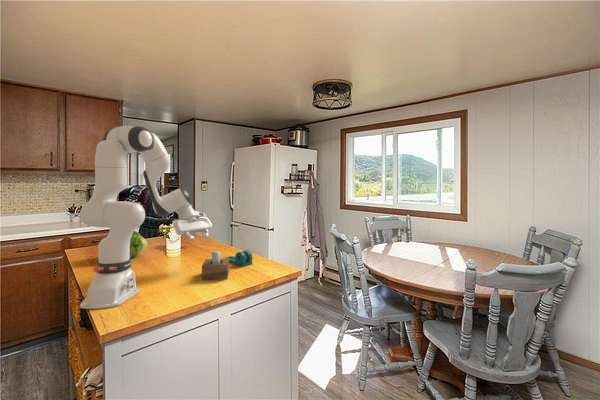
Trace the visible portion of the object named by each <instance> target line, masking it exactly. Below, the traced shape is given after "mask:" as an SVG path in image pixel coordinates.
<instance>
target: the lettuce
mask: <svg viewBox="0 0 600 400" xmlns="http://www.w3.org/2000/svg"><path fill="white" fill-rule="evenodd" d="M147 247H148V241H147V240H146V239H145V238H144V237H143V236H142V235H141V234H140V233H139V232H137V231H136V230H135V231H134V232H133V234H132V236H131V240H130V259H131V258H133V257H134V258H135V257H136V256H138V255H139V254H140V253H141V252H143V251H144V250H145V249H146V248H147Z"/></svg>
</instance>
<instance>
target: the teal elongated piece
mask: <svg viewBox="0 0 600 400" xmlns="http://www.w3.org/2000/svg"><path fill="white" fill-rule="evenodd" d="M224 259H229V264H232V265H233V266H234V265H235V266H238V267H242V268H244V267H247V266H251V265H253V254H252V252H251V250H248V249H247V250H243V251H239V252H236V253H235V255H229V256H225V258H224Z"/></svg>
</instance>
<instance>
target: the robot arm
mask: <svg viewBox="0 0 600 400" xmlns="http://www.w3.org/2000/svg"><path fill="white" fill-rule="evenodd" d="M128 153H139V154H140V156H141V158H142V160H143V161H144V164H145V169H144V170H143V172H142V174H143V179H144V181H145V185H146V189H147V191H148V194H149V197H150V199H151V202H152V208H153V211H154V213H155V214H156V215H157V216H159V217H167V216H169V215H172V213H176V214H177V215H178V218H175V219H173V220H172V225H173V228H174V231H175V233H176V234H177V235H178V236H185V237H186V238H188V240H189V241H193V240H194V239H195V238H194V236H193V235H191V234H199V233H204V237H205V239H207V238H209V237H210V235H209V232H210V231H211V230H212V228H213V224H212V222H211V221H210V219H209V218H208V217H207V215H206V213H204V212H202V211H201V212H200V211H197V210H195V209H194V208H193V205H192V203H193V199H192V197H191V196H190V194H189V192H188V190H187V189H185V188H181V187H180V188H177V189H175V190H172V191H171V192H169V193H167V194H164V195H162V196H160V194H159V192H158V188H157V186H156V185H157V184H156V183H157V181H158V180H159V179H160V178H161V177H162V176H163V175H164V174H165V173H166V172H168V170H169V168H170V166H171V157H170V156H169V154H168V151H167V150H166V147H165V146H164V144H163V142H162V141H161V140H160V138H159V137H158V136H157V135H156V134H155V133H153V132H151V130H149V129H148V128H146V127H144V126H141V125H140V126H138V125H136V126H132V125H131V126H129V125H123V126H118V127H117V126H115V127H110V128H108V129H107V130H106V131H105V132H104V134H103V136H102V140H101V141H100V142H98V143H97V145H96V149H95V154H94V173H95V174H94V175H95V176H94V177H95V178H94V181H95V183H94V190H93V193H92V195H91V197H90V199H89V200H88V201H87V202H86V203H85V204H84V205H82V207H81V208H80V212H79V217H80V220H81V222H83V223H84V224H85V225H87V226H90V227H95V228H109V232H108V234H107V236H106V237H103V238H102V239H101V240H100V241H99V243H98V246H97V248H98V250H97V251H98V253H97V254H98V261H97V264H96V266H94V267H93V269H92V270H93V272H94V273H95V272H96V273H95V275H94V278H93V279H92V281H91V282H90V283H89V286H88V288H87V293H86V297H85V298H84V299H83V300H82V301H81V302H80V304H79V308H81V309H86V310H88V309H89V310H92V309H94V310H95V309H107V308H114V307H118V306H120V305H122V304H124V303H125V302H126V301H128V300H129V299H131V298H132V297H134V296H135V295H137V294H138V293H140V292H141V291H140V290H141V289H140V288H137V284H136V283H137V282H136V274H135V272H134V271H133V270H132V268H131V267H132V259H131V258H130V240H131V236H132V234H133V232H134V231H136V230H137V228H138V227H140V226H141V225H142V224H143V223H144V221H145V218H146V211H145V208H144V207H143V205H142V204H139V203H136V202H132V201H118V200H117V198H118V195H119V194H120V193H121V192H123V190H125V189H127V187H128V168H127V167H128V164H127V155H128Z"/></svg>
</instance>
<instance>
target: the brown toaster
mask: <svg viewBox="0 0 600 400" xmlns="http://www.w3.org/2000/svg"><path fill="white" fill-rule="evenodd" d="M229 273H230V263H229V259H225V258H220V264H212V258H205V260H204V262H203V263H202V265H201V280H202V281H210V280H211V281H215V280H228V278H229Z"/></svg>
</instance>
